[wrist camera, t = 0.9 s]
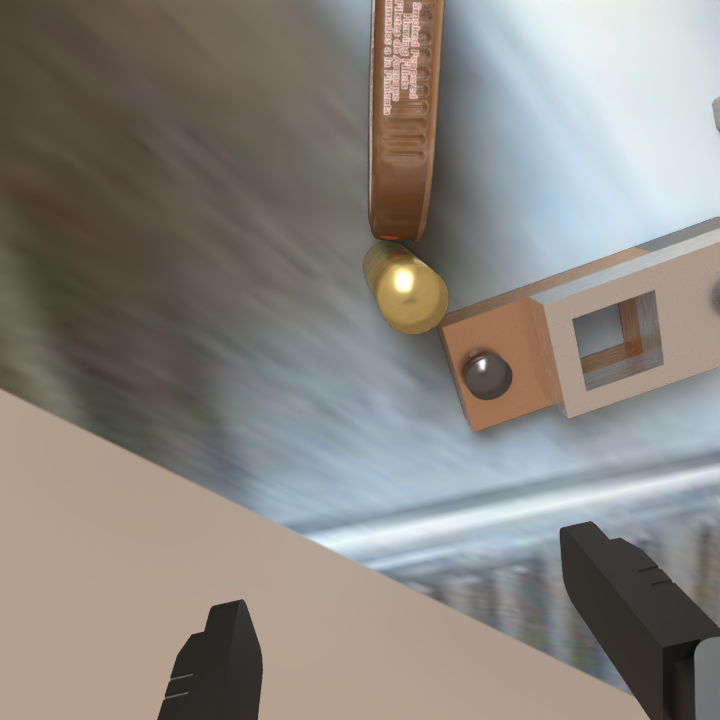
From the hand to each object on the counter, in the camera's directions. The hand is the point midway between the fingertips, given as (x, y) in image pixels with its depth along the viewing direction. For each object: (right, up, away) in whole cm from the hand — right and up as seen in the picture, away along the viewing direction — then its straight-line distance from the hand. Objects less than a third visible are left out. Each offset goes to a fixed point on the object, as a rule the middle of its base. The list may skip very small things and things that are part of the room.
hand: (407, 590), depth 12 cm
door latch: (+13, +8, +20) cm, 25 cm away
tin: (0, +20, +14) cm, 25 cm away
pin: (0, +11, +17) cm, 21 cm away
